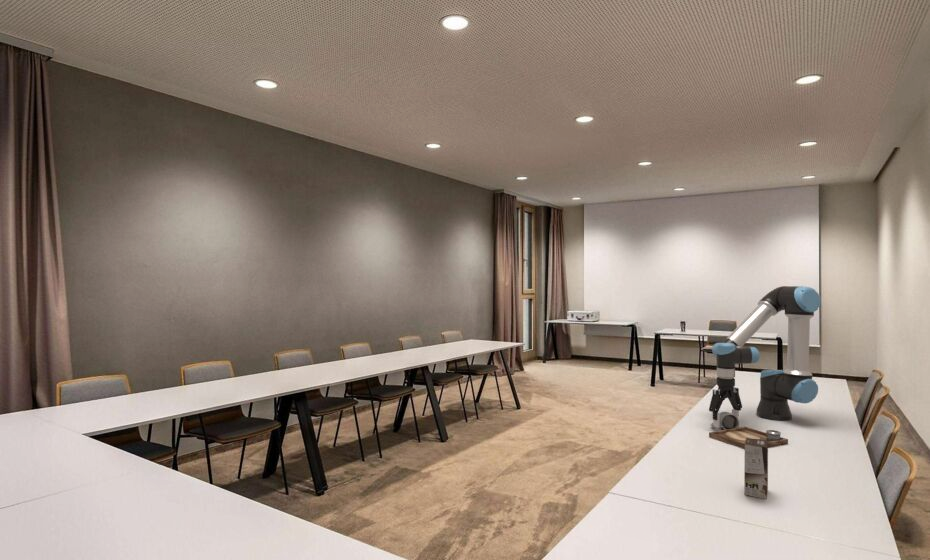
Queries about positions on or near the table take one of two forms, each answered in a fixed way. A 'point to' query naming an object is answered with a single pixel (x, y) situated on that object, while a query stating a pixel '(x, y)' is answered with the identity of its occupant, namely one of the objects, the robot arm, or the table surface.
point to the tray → (743, 437)
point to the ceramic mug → (727, 421)
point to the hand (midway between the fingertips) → (725, 425)
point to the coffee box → (756, 468)
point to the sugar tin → (772, 435)
